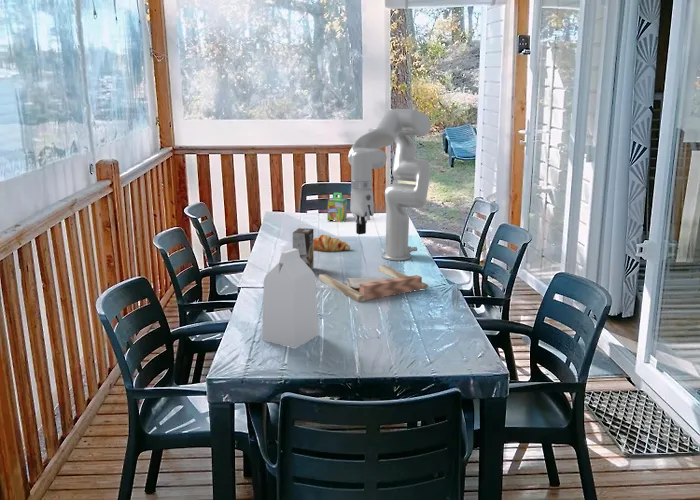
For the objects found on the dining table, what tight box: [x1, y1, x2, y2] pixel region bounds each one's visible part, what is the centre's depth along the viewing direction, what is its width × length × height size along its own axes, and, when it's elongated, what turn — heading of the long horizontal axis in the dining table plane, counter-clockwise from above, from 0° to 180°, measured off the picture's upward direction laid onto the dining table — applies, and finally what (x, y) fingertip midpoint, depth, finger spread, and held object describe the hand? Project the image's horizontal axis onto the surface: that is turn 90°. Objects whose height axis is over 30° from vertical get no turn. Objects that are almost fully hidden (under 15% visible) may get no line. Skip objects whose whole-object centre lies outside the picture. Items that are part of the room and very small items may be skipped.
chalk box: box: [326, 192, 348, 222], centre depth 352 cm, size 9×9×15 cm
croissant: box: [313, 234, 351, 252], centre depth 291 cm, size 21×10×8 cm, turn 83°
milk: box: [261, 248, 320, 349], centre depth 187 cm, size 12×12×26 cm
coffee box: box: [292, 227, 315, 271], centre depth 256 cm, size 9×6×16 cm
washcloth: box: [344, 277, 392, 292], centre depth 238 cm, size 12×18×3 cm, turn 97°
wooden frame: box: [318, 264, 429, 303], centre depth 240 cm, size 29×29×5 cm
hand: (361, 233), depth 244 cm, fingers closed
